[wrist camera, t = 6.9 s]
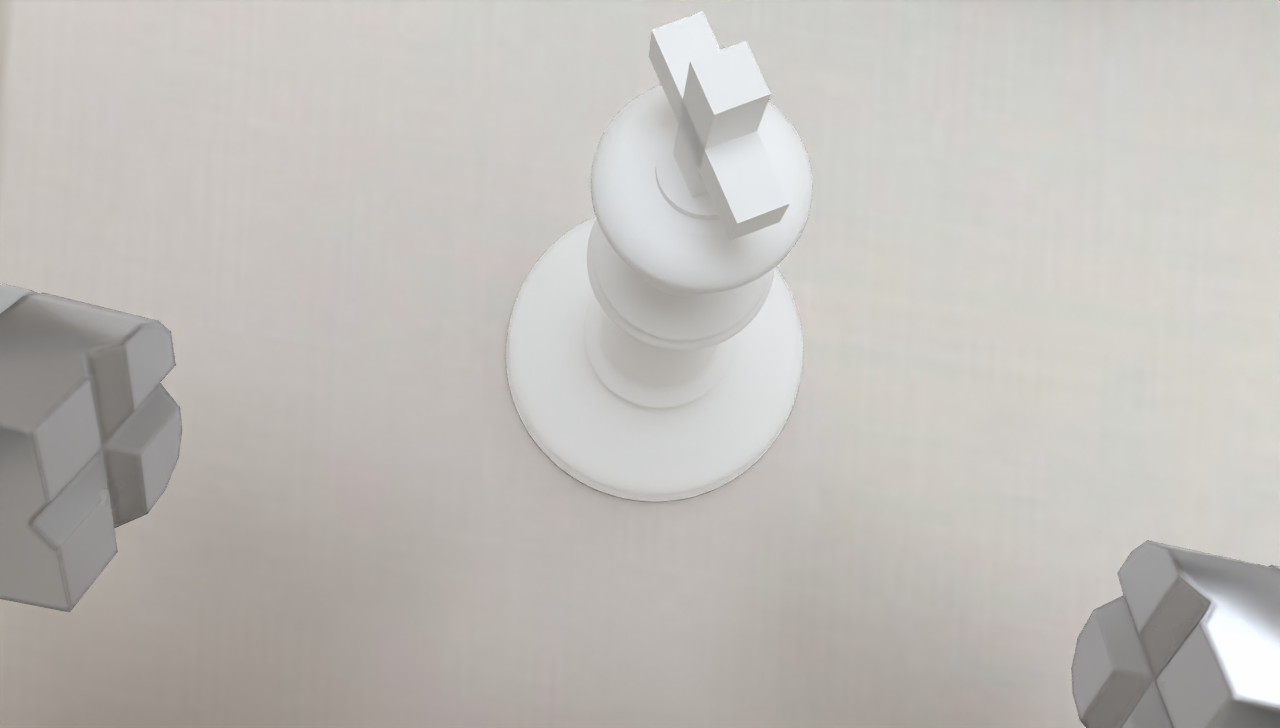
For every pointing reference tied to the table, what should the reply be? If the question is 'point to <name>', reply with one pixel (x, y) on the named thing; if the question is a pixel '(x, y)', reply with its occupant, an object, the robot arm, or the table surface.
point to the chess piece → (671, 286)
